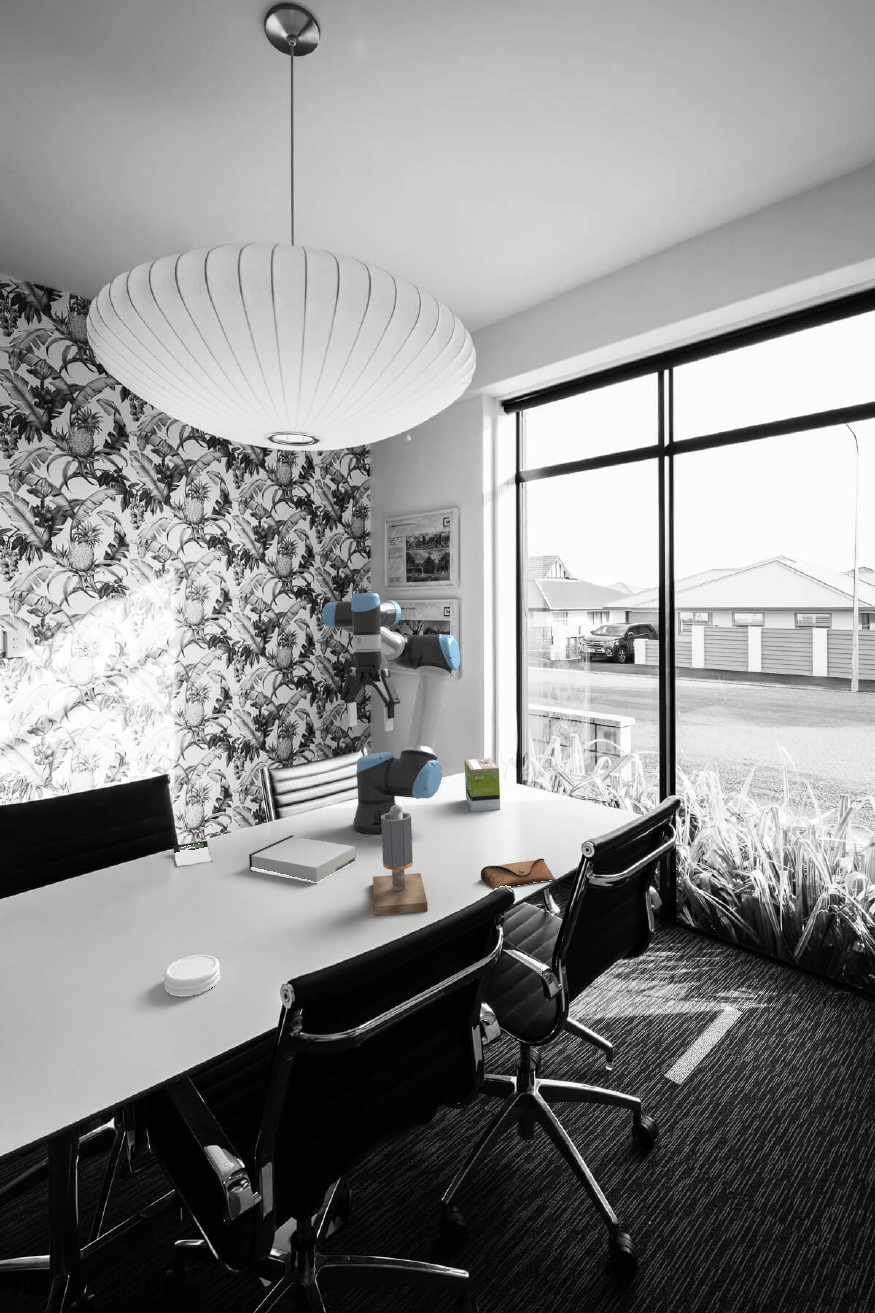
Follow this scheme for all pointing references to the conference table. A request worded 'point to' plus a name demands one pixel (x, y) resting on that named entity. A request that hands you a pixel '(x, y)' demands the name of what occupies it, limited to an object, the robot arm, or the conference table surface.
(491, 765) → the tea box
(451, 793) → the conference table surface
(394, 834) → the sleeve
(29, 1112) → the conference table surface
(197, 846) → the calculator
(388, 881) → the post stand
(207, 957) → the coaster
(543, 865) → the sunglasses case
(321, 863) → the disc drive
